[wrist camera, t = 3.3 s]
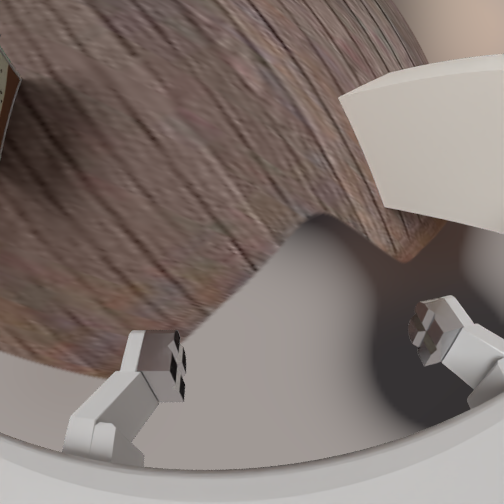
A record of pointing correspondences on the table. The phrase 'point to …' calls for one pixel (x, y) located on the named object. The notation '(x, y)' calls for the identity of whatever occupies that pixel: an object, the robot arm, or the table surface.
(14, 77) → the half round cake
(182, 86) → the table surface
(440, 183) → the stand
